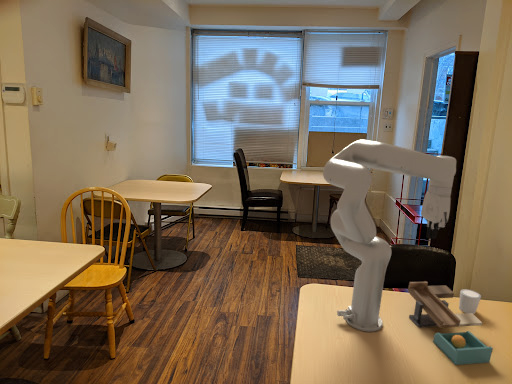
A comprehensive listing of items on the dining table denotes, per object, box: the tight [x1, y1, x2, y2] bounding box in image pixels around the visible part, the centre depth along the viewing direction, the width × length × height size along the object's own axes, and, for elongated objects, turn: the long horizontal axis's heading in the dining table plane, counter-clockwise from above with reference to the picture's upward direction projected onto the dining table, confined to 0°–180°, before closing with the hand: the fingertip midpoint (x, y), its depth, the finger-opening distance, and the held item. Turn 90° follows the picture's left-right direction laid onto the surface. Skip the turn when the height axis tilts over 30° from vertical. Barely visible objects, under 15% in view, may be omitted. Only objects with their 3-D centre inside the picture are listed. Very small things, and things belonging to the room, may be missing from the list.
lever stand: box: [408, 299, 449, 328], centre depth 132 cm, size 12×6×8 cm, turn 99°
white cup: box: [458, 288, 482, 315], centre depth 141 cm, size 7×7×7 cm
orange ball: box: [451, 335, 466, 348], centre depth 118 cm, size 4×4×4 cm
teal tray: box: [432, 330, 493, 366], centre depth 116 cm, size 12×11×5 cm
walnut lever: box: [407, 281, 483, 329], centre depth 131 cm, size 16×20×4 cm
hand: (431, 238), depth 138 cm, fingers closed
